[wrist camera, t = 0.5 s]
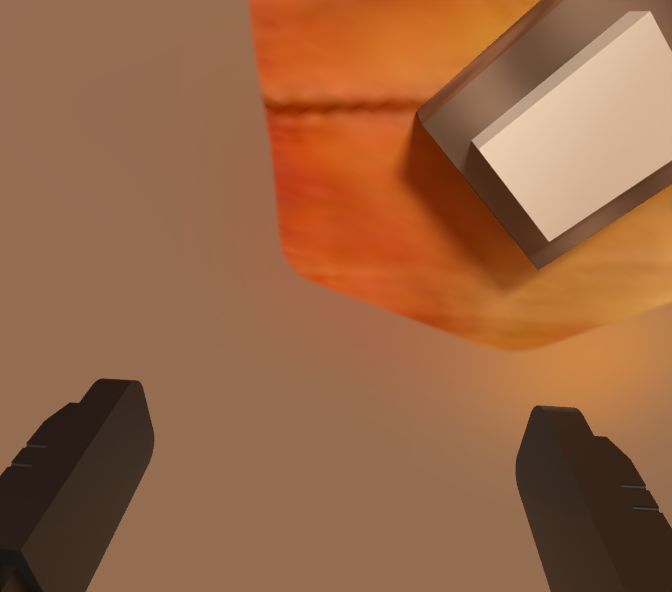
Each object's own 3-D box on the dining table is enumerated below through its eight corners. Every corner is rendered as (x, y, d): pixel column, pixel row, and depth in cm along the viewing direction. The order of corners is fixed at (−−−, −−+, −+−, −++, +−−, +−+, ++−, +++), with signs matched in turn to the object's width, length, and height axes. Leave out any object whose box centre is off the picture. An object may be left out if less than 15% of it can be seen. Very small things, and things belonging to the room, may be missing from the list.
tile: (629, 11, 23) (650, 11, 21) (690, 123, 25) (714, 132, 23) (471, 140, 26) (478, 149, 24) (538, 228, 28) (549, 242, 27)
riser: (636, -86, 24) (681, -103, 20) (729, 101, 28) (780, 113, 24) (416, 111, 29) (422, 124, 26) (521, 243, 33) (538, 270, 30)
